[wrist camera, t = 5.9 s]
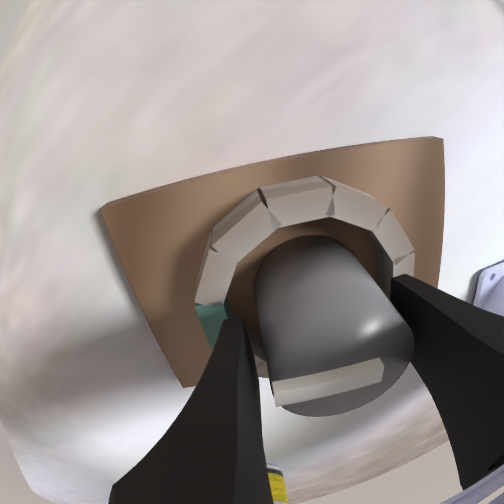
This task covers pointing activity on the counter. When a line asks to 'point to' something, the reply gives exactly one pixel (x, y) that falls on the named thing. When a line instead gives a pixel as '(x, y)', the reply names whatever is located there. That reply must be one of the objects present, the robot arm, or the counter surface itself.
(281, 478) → the supplement bottle
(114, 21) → the counter surface
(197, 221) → the hub plate
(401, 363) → the knob
